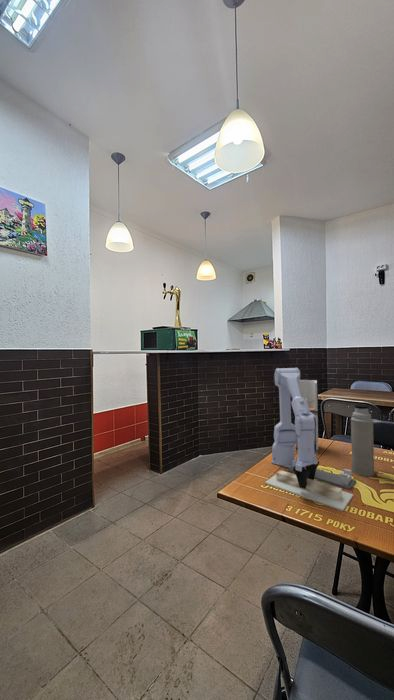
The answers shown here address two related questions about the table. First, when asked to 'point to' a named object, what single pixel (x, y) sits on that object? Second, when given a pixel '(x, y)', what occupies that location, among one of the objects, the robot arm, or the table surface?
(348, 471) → the rack
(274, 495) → the table surface
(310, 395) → the display case
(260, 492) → the table surface
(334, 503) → the mat
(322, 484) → the rail
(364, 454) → the thermos bottle
